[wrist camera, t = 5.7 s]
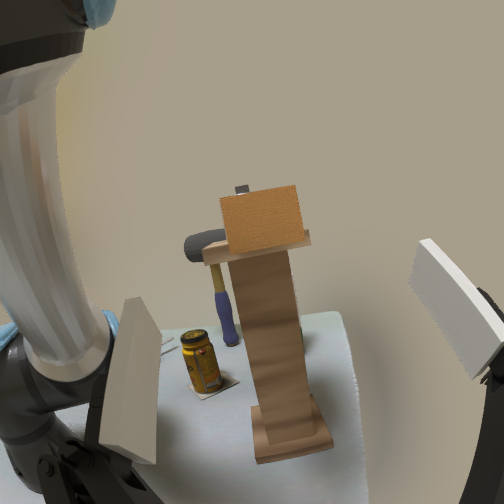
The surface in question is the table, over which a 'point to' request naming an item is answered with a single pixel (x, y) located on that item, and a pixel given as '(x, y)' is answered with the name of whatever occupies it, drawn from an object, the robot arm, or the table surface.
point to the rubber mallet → (214, 279)
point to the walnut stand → (274, 352)
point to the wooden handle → (261, 219)
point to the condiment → (203, 365)
